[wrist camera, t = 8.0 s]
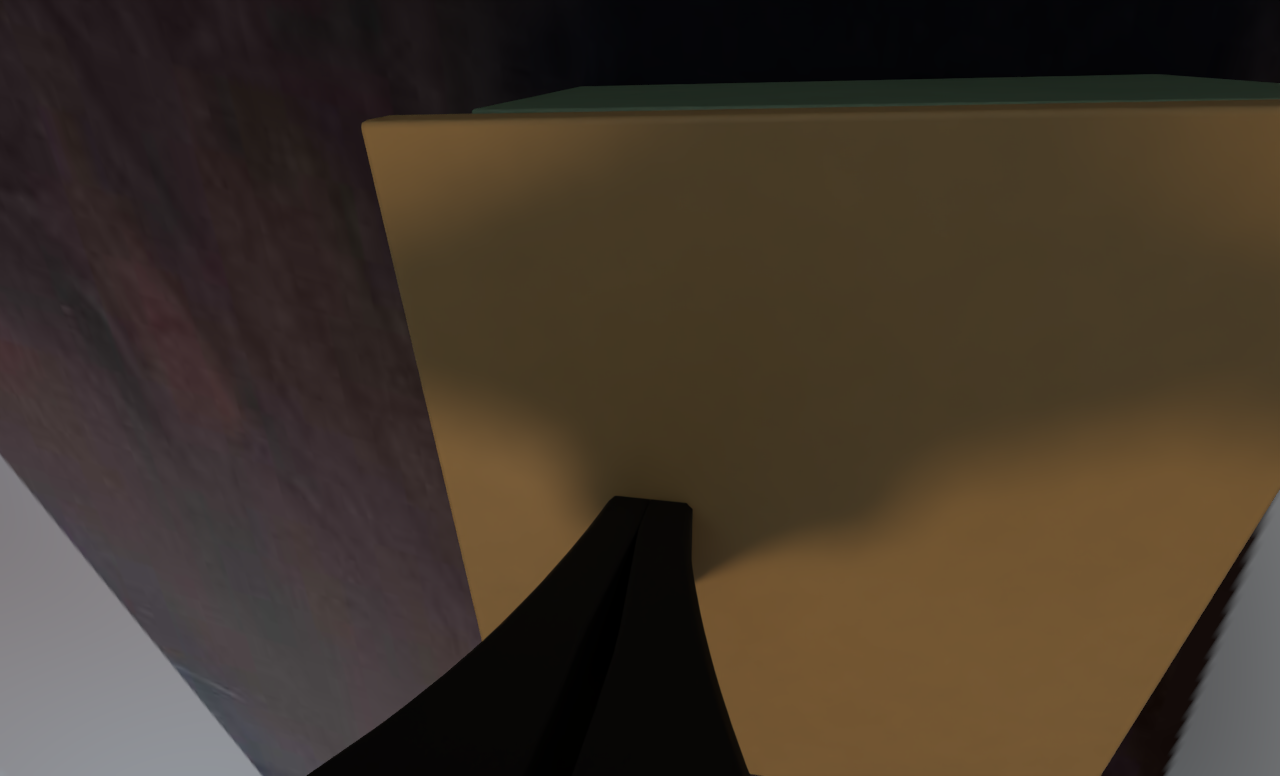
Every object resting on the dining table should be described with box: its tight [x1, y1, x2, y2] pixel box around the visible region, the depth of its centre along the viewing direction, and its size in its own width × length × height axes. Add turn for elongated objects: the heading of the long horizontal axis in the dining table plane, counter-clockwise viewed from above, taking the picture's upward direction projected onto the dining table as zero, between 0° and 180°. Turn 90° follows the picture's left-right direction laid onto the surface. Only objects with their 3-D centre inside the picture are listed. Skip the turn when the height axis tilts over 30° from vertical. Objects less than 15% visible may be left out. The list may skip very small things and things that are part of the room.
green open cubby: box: [472, 74, 1280, 114], centre depth 14 cm, size 12×14×6 cm
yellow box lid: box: [362, 99, 1280, 776], centre depth 10 cm, size 12×14×1 cm
